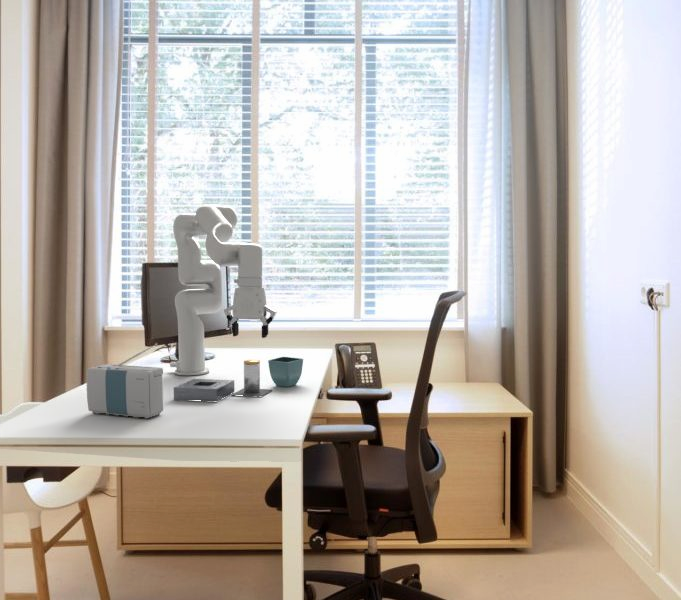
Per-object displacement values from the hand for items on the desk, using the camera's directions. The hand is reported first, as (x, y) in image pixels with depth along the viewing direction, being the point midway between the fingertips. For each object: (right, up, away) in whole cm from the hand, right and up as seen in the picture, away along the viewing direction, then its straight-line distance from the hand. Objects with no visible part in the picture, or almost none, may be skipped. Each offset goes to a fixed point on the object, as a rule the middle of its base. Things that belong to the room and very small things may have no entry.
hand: (249, 336), depth 199 cm
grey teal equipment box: (-31, -20, -25) cm, 45 cm away
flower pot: (+10, -18, +13) cm, 24 cm away
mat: (+1, -18, +1) cm, 18 cm away
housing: (-14, -19, -4) cm, 23 cm away
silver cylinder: (+1, -18, +1) cm, 18 cm away
